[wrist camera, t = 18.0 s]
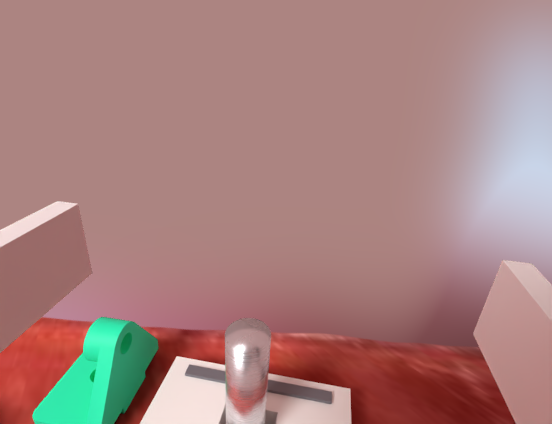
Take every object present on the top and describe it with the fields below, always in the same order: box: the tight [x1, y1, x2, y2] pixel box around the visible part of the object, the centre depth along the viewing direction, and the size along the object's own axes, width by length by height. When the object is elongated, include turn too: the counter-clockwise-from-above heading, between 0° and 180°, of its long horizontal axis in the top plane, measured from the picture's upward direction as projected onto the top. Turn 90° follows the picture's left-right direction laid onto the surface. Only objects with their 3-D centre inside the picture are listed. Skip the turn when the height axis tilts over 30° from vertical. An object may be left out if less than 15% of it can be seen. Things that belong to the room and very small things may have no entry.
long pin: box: [225, 318, 271, 424], centre depth 30 cm, size 4×4×16 cm
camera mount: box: [33, 317, 159, 424], centre depth 37 cm, size 12×8×10 cm, turn 172°
